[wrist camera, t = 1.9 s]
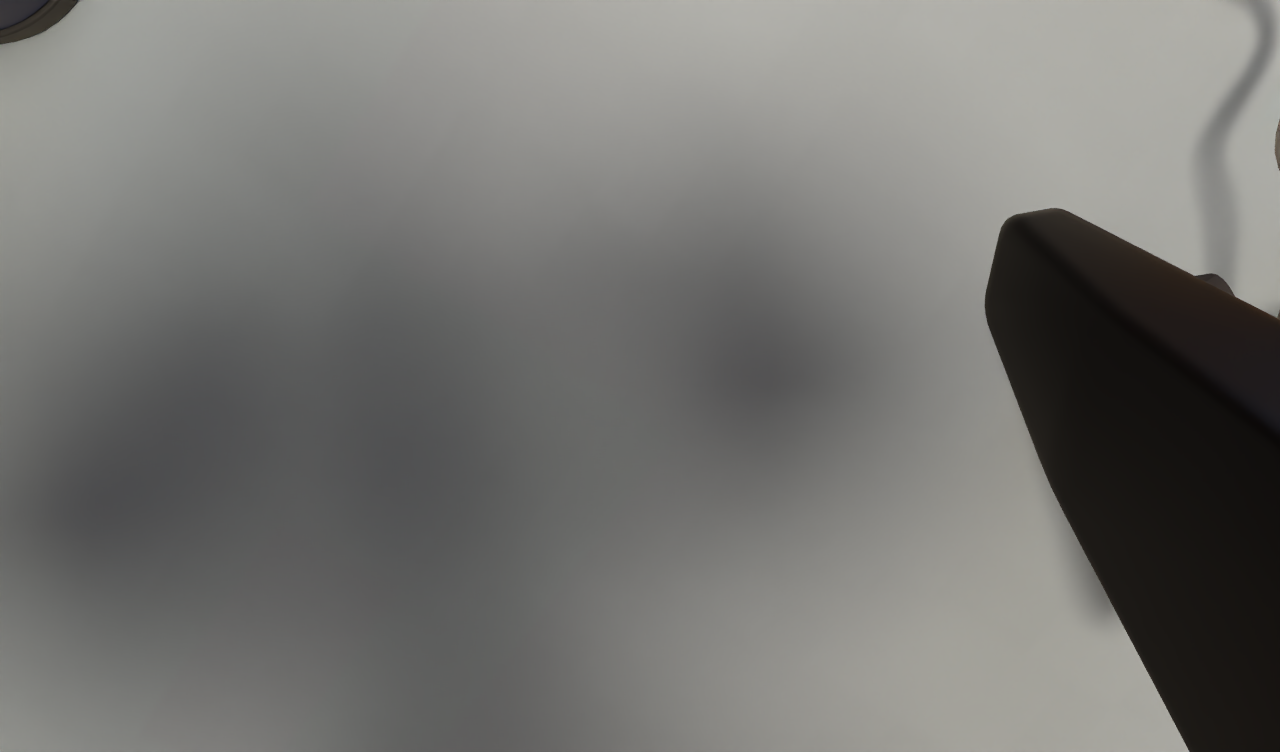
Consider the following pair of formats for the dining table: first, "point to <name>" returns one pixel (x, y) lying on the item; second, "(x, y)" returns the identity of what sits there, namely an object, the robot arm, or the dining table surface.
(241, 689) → the dining table surface
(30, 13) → the navy blue cylinder
